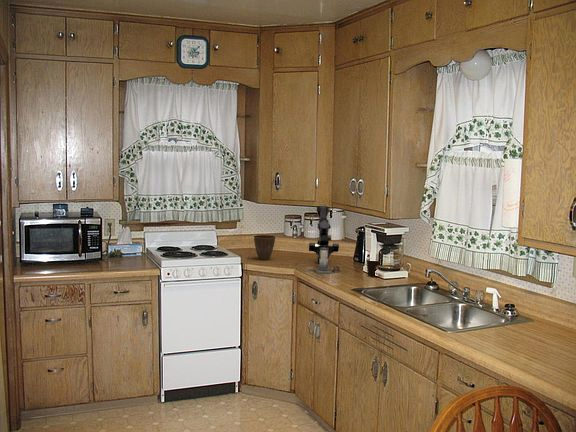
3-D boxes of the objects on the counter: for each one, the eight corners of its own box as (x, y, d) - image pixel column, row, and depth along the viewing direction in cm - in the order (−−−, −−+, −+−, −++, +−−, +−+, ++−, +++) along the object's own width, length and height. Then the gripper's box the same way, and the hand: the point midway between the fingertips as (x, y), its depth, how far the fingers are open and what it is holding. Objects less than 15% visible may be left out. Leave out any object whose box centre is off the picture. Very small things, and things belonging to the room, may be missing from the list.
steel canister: (320, 267, 375) (321, 246, 374) (329, 268, 373) (329, 247, 372) (317, 268, 370) (318, 247, 369) (326, 269, 368) (326, 248, 367)
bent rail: (331, 269, 382) (331, 264, 381) (337, 269, 382) (338, 264, 382) (334, 273, 370) (335, 268, 369) (342, 273, 370) (342, 268, 370)
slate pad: (315, 270, 376) (315, 269, 376) (329, 270, 377) (329, 269, 377) (317, 273, 367) (317, 271, 367) (331, 273, 368) (331, 271, 368)
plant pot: (274, 261, 405) (275, 238, 404) (252, 260, 405) (253, 237, 404) (275, 257, 420) (275, 235, 419) (253, 257, 420) (254, 234, 419)
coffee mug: (369, 277, 358) (369, 261, 357) (363, 274, 366) (364, 258, 366) (387, 277, 361) (387, 260, 360) (381, 274, 370) (381, 258, 369)
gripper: (309, 230, 373) (309, 250, 364) (339, 230, 373) (339, 251, 363) (308, 240, 382) (308, 260, 372) (338, 241, 382) (338, 261, 372)
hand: (323, 258), depth 370 cm, fingers closed on steel canister, 5 cm apart
